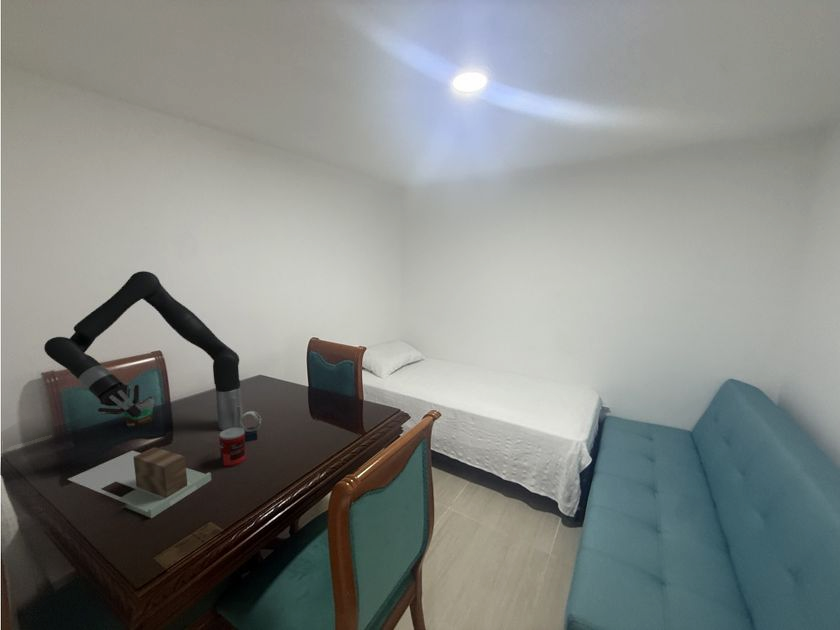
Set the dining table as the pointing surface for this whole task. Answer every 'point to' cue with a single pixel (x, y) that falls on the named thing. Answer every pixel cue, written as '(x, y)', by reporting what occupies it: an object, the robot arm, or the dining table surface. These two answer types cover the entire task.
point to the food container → (142, 413)
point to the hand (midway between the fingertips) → (138, 416)
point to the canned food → (232, 446)
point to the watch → (252, 432)
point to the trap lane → (139, 498)
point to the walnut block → (160, 471)
